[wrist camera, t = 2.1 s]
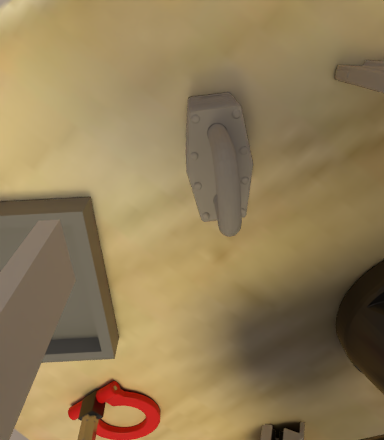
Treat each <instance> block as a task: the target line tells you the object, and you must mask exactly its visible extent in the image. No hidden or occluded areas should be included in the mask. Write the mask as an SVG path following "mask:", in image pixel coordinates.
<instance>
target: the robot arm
mask: <svg viewBox="0 0 384 440" xmlns="http://www.w3.org/2000/svg"><path fill="white" fill-rule="evenodd" d="M75 281H76V280H75V276H74V272H73V268H72V264H71V261H70V257H69V253H68V249H67V245H66V241H65V238H64V234H63V230H62V226H61V222H60V220H43V221H38V222H37V223H36V225H35V226H34V227H33V229H32V230H31V231H30V233H29V234H28V235H27V237H26V238H25V239H24V241H23V242H22V244H21V245H20V246H19V248H18V249H17V250H16V252H15V253H14V254H13V256H12V257H11V258H10V260H9V261H8V262H7V264H6V265H5V266H4V268H3V269H2V270H1V272H0V440H9V439H10V437H11V434H12V432H13V429H14V427H15V425H16V422H17V420H18V417H19V415H20V413H21V410H22V408H23V405H24V403H25V401H26V398H27V396H28V393H29V391H30V389H31V386H32V384H33V381H34V379H35V377H36V374H37V372H38V369H39V367H40V365H41V362H42V360H43V357H44V355H45V353H46V350H47V348H48V345H49V343H50V341H51V338H52V336H53V333H54V331H55V329H56V326H57V324H58V321H59V319H60V317H61V314H62V312H63V309H64V307H65V305H66V302H67V300H68V297H69V295H70V293H71V290H72V288H73V285H74V283H75ZM336 331H337V335H338V338H339V341H340V342H341V344H342V346H343V348H344V350H345V352H346V354H347V356H348V358H349V359H350V361H351V362H352V363H353V365H354V366H355V367H356V368H357V369H358V370H359V371H360V372H362V373H363V374H364V375H365V376H366V377H367V378H368V379H369V380H370V381H371V382H372V383H373V384H374V385H375V386H376V387H377V388H378V389H379V390H380V391H381V392H382V393H383V394H384V261H383V262H381V263H380V264H378V265H376V266H375V267H373V268H372V269H371V270H369V271H368V272H367V273H366V274H364V275H363V276H362V277H361V278H360V279H359V280H358V281H357V282H356V283H355V284H354V285H353V286H352V287H351V289H350V290H349V291H348V293H347V294H346V296H345V297H344V299H343V301H342V303H341V305H340V307H339V310H338V313H337V318H336ZM360 440H384V435H379V436H374V437H370V438H365V439H360Z"/></svg>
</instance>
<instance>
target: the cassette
mask: <svg viewBox="0 0 384 440" xmlns="http://www.w3.org/2000/svg"><path fill="white" fill-rule="evenodd" d="M335 79H336V80H340V81H343V82H347V83H350V84H354V85H357V86H361V87H364V88H368V89H371V90H375V91H378V92H382V93H384V61H374V60H366V61H365V62H364V64H363V65H362V66H350V65H338V67H337V69H336V72H335Z"/></svg>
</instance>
